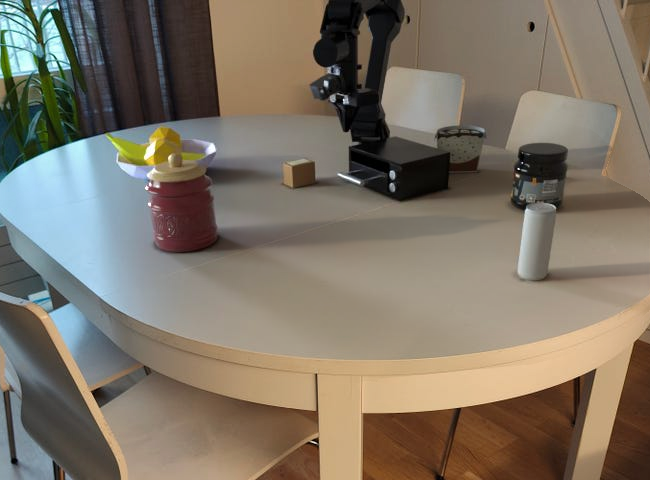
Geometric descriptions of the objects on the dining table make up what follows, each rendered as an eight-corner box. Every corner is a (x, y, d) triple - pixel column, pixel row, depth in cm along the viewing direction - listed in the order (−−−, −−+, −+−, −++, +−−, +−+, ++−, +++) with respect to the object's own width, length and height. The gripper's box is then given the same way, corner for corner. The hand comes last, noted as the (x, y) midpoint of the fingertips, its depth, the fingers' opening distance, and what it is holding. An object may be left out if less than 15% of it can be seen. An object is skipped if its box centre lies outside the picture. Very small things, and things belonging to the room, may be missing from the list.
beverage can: (512, 271, 118) (520, 203, 112) (540, 268, 118) (549, 201, 112) (523, 282, 114) (532, 213, 108) (551, 280, 114) (562, 210, 108)
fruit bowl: (236, 163, 187) (232, 120, 181) (183, 193, 166) (177, 146, 161) (152, 157, 198) (145, 116, 192) (92, 185, 177) (83, 140, 171)
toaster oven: (346, 181, 167) (345, 146, 163) (394, 170, 173) (395, 136, 169) (397, 202, 152) (398, 164, 148) (448, 188, 158) (450, 152, 154)
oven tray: (331, 182, 163) (331, 165, 161) (392, 167, 171) (393, 151, 169) (366, 197, 153) (366, 179, 151) (430, 180, 160) (431, 163, 158)
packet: (284, 184, 168) (282, 162, 166) (306, 178, 171) (305, 157, 168) (293, 188, 165) (291, 166, 162) (315, 182, 168) (314, 161, 165)
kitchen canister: (191, 257, 132) (178, 166, 122) (141, 247, 138) (125, 159, 129) (231, 234, 141) (222, 148, 132) (182, 226, 147) (170, 142, 138)
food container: (480, 164, 173) (483, 123, 167) (483, 171, 167) (487, 129, 162) (430, 166, 174) (432, 125, 169) (432, 173, 169) (434, 131, 164)
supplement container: (525, 194, 151) (532, 139, 145) (571, 203, 145) (580, 146, 139) (500, 207, 145) (506, 150, 139) (546, 217, 139) (555, 158, 132)
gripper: (292, 60, 156) (296, 131, 164) (338, 69, 142) (339, 145, 150) (333, 54, 160) (334, 123, 169) (381, 62, 146) (380, 136, 155)
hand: (345, 132), depth 160 cm, fingers closed
